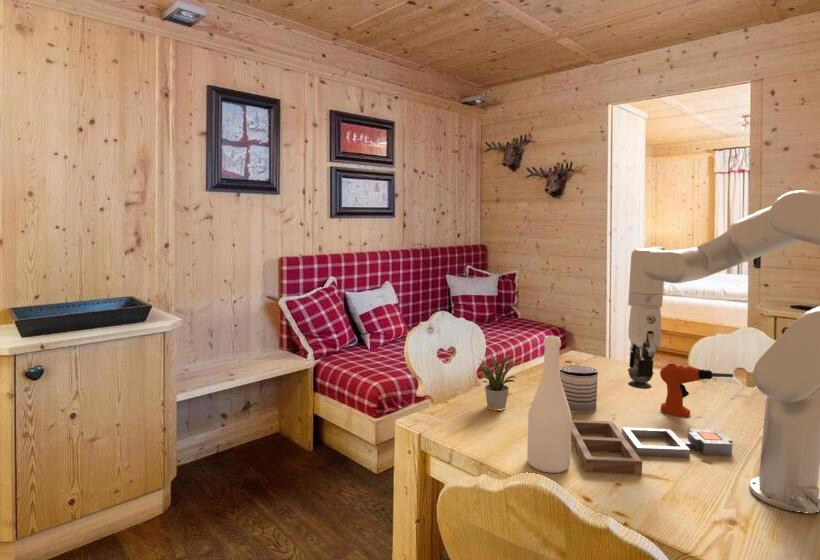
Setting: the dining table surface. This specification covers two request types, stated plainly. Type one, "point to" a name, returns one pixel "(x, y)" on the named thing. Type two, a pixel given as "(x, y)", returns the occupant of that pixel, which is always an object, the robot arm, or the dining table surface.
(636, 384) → the chess piece
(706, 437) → the button
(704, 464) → the dining table surface
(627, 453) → the walnut rack
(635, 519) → the dining table surface
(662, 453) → the grey flat frame piece
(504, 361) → the house plant
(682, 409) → the toy drill
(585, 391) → the can
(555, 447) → the wine bottle
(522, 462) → the dining table surface
